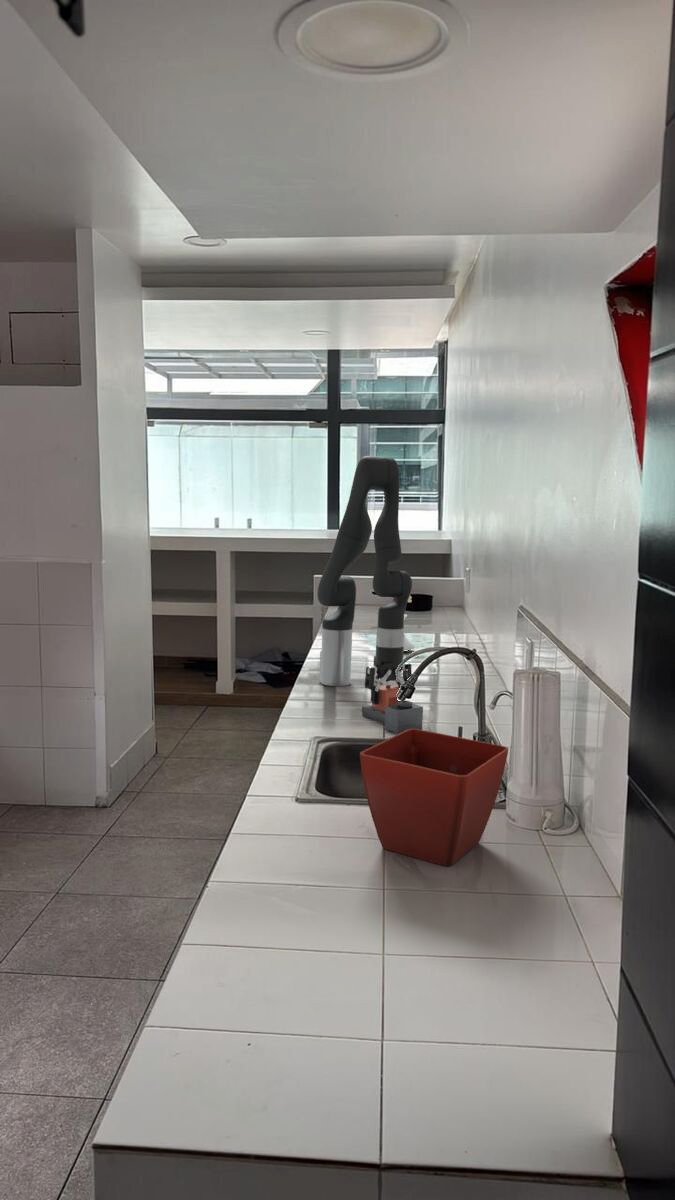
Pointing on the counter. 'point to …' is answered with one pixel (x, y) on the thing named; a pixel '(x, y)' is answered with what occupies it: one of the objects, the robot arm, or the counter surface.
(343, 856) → the counter surface
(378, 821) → the plant pot
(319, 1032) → the counter surface
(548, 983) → the counter surface
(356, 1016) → the counter surface
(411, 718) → the coupler
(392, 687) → the notched red block
